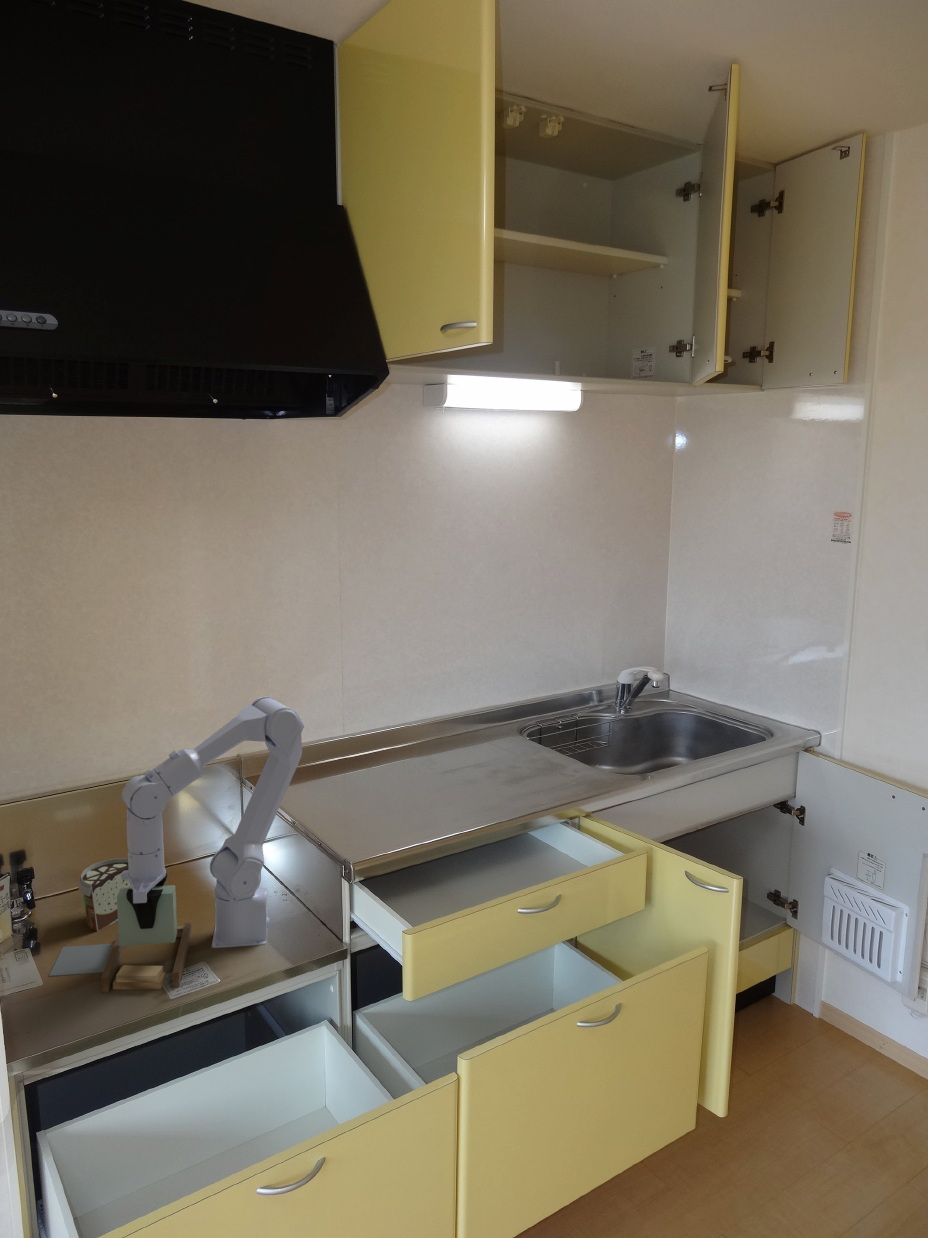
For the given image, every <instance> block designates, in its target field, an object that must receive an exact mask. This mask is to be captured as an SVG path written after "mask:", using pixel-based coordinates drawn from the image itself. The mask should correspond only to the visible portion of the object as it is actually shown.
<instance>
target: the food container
mask: <svg viewBox="0 0 928 1238" xmlns="http://www.w3.org/2000/svg"><path fill="white" fill-rule="evenodd" d="M126 870H129V867H128V857H123V858H121V857H119V858H111V859H106V860H102V861H98V862H96V863H93V864H91V865H89V866H88V867H86V868H84V870H83V871H82V873H81V875H80V877H79V881H78V885H77V886H78V891H79V892H80V893H82V895H83V902H84V908H85V914H86V920H87V927H88V928H89V929H90V930H92V931H94V932H99V931H100V930H102V929H103V928H105V927H106V926H111V925H113V924H115V923H116V922H118V912H117V895H118V893H119V890H120V888H132V887H131V885H130V883H129V881H128V880H127V879H121V875H122V872H123V871H126Z"/></svg>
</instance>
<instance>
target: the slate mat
mask: <svg viewBox="0 0 928 1238" xmlns="http://www.w3.org/2000/svg"><path fill="white" fill-rule="evenodd" d="M113 946H114V943H101V944H85V945H70V946H62V948H61V951H60V953H59V955H58V957H57V959H56V960H55V963H54V965H53V967H52V968H51V970H50V973H49V974H48V977H61V976H77V975H90V974H92V975H93V974H103V972H104V969H105V966H106V964H107V961H108V959H109V956H110V953H111V951H112V948H113Z"/></svg>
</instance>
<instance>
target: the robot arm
mask: <svg viewBox="0 0 928 1238" xmlns="http://www.w3.org/2000/svg"><path fill="white" fill-rule="evenodd" d="M304 729H305V724H304V723H303V721H302V719H301V718H300V715H299V714H298V712H297V711H296V710H295V709H293V708H291V707H288V706H287V705H284V704H283V703H281V702H279V701H278V700H276V699H275V698H274V697H272V696H268V695H267V696H261V697H259V698H256V699H255V700H254V701H253V702H251V704H248V705H245V706H244V707H242V709H241V710H240V711H239V712H238V713H237V715H236V716H235V717H233V718H232V719H231V720H230V721H228V722H227V723H225V724H224V725H223V726H222V727H221V728H219V729H218V730H217V731H215V732H214V733H212V734H211V735H210V736H208V737H207V738H206V739H205V740H204V741H202V742H201V743H199V745H197V746H195V748H193V749H188V748H187V749H185V748H184V749H183V748H182V749H180V750H179V751H177V750H173V751H171V752H170V753H169V754H168V756H169V757H168V758H167V759H165V760H163V761H162V762H161V763H160V764H158V765H157V766H155V767H154V768H152V769H147V770H146V771H144V775H143V774H141V775H140V776H139V775H137V776H134V777H132V778H130V779H129V780H128V781H127V782H126V783H125V786H124V787H123V788H122V792H120V794H119V795H120V798H121V801H122V802H123V803H124V805H125V806H126V807H127V808H126V840H127V841H126V842H127V843H126V845H127V846H126V847H127V858H128V867H129V870H126V871H123V872H122V875H121V879H127V880H128V881H129V883H130V885H131V887H132V889H128V891H127V893H126V897H127V900H128V901H129V902H130V904H131V905H132V907H133V909H134V911H135V914H136V917H137V920H138V924H139V926H140V929H151V928H153V926H154V923H155V917H156V909H157V903H158V900H159V898H160V896H161V894H162V891H163V889H158V890H152V888H153V887H154V886H165V883H166V881H167V878H168V873H167V870H166V867H165V851H164V850H165V848H164V847H165V844H164V824H163V822H164V820H163V812H164V810H165V809H166V807H167V804H168V802H169V800H171V799H172V798H173V797H174V796H175V795H177V794H179V793H181V791H183V790H184V789H185V788H187V787H188V786H190V785H192V784H193V783H194V782H196V781H197V780H198V779H200V778H201V777H202V776H203V773H204V769H205V767H206V766H207V765H208V764H210V763H211V762H213V761H214V760H216V759H217V758H219V757H221V756H223V755H224V754H226V753H227V752H228V751H231V750H232V749H233V748H235V747H237V746H239V745H240V744H242V743H244V742H247V741H248V742H249V741H250V742H260V743H261V742H263V743H264V744H265V745H266V747H267V750H268V752H269V754H268V758H267V760H266V763H264V764H265V765H264V766H263V769H262V771H261V774H260V775H259V777H258V780H257V782H256V785H255V787H254V789H253V791H252V794H251V796H250V799H249V801H248V803H247V805H246V808H245V809H244V812H243V815H242V816H241V819H240V821H239V824H238V826H237V827H236V830H235V832H234V833H233V834H232V835H230V836H228V837H227V838H226V839H225V840H224V842H223V844H222V846H221V847H220V849H219V850H217V851H216V852H215V853H214V855H212V858H210V859H211V860H210V862H209V871H210V874H211V875H212V877H213V878H215V879H216V881H215V882H216V884H215V886H214V908H215V909H214V911H215V913H214V915H215V917H214V918H215V919H214V920H215V927H214V930H213V936H212V937H213V938H212V943H211V948H212V949H220V948H233V947H234V948H235V947H249V946H252V947H253V946H262V945H263V946H265V945H267V941H268V929H269V928H270V917H269V913H268V911H269V910H268V904H269V903H268V901H269V900H268V888H266V887H260V886H261V882H262V869H263V866H264V864H265V857H264V856H265V855H264V850H263V846H264V844H265V841H266V839H267V836H268V834H269V832H270V830H271V828H272V825H273V823H274V821H275V818H276V815H277V813H278V811H279V809H280V807H281V805H282V802H283V801H284V797H285V795H286V793H287V790H288V788H289V786H290V784H291V782H292V779H293V776H294V775H295V772H296V771H297V767H298V765H299V763H300V760H301V758H302V755H303V746H302V745H303V744H302V743H303V741H302V738H303V737H302V732H303V730H304Z"/></svg>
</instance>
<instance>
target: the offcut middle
mask: <svg viewBox="0 0 928 1238" xmlns="http://www.w3.org/2000/svg"><path fill="white" fill-rule="evenodd" d="M166 975H167V973H166V971H163V974H162V975H161V977H160V979H159V980H158V982H157V983H143V982H116V977H114V978H115V979H113V981H112V990H161V989H162V987H163V985H164V983H165V982H166V979H167V978H166V977H167V976H166Z"/></svg>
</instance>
